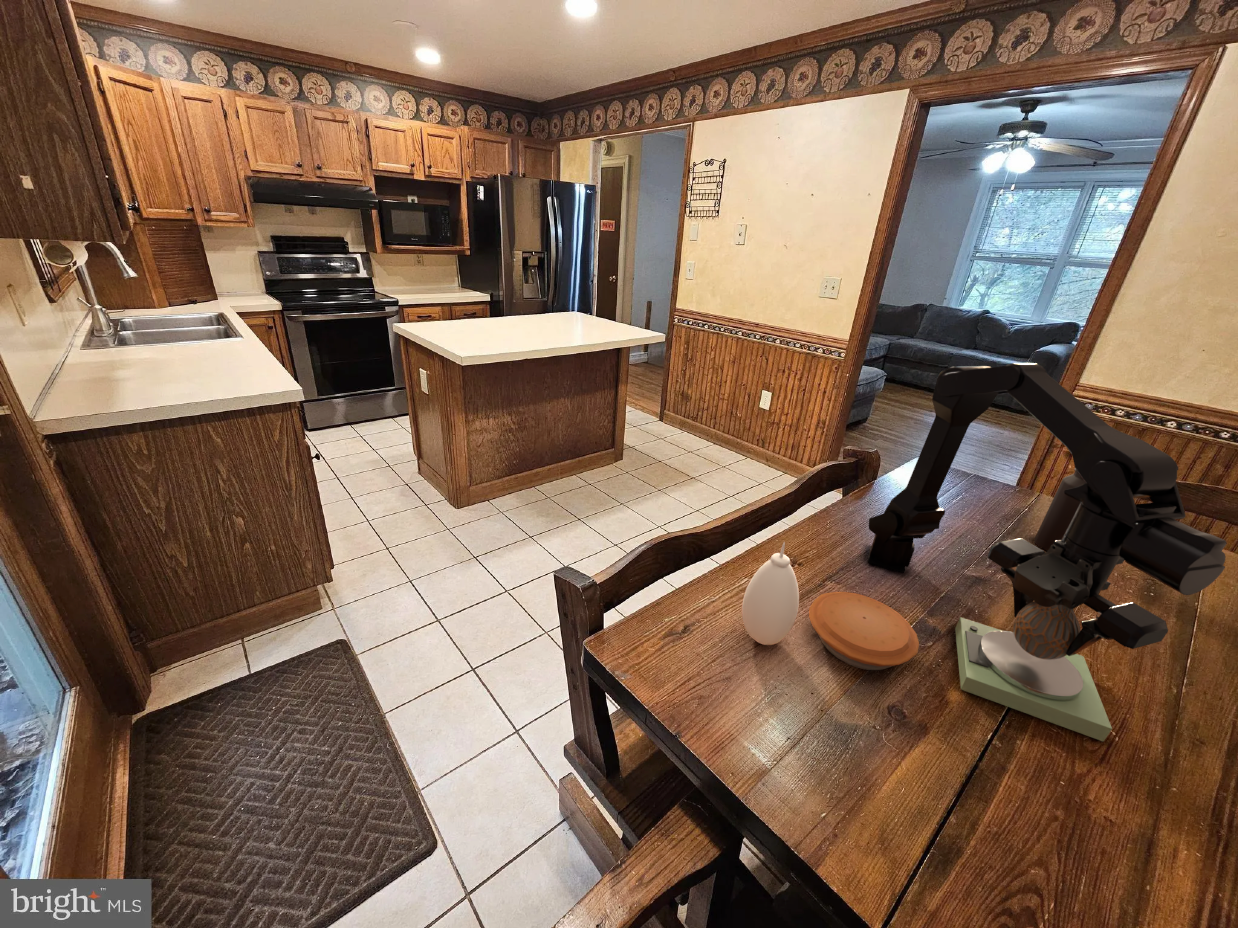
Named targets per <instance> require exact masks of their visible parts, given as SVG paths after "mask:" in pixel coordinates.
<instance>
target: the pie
mask: <svg viewBox="0 0 1238 928" xmlns="http://www.w3.org/2000/svg"><path fill="white" fill-rule="evenodd" d="M808 611H809V613H808V619H809V621H810V623H811V626H812V628H813V629H814V631H815V632H816V633H817V635H818V637H819V639H820V641H821V643H822V644H823V646H824V647H825V648H826V650H827V651H828V652H829V653H830V654H832V655H833V656H834V657H835V658H837V659H838V660H840V661H841V662H844V663H845V664H847V665H849V666H852V667H855V668H858V669H861V670H867V671H883V670H886V669H889V668H891V667H896V666H899V665H902V664H904V663H906V662H907V663H908V662H909V661H910V660H912V659H913V658H914V657H915V656H916V655H917V654H918V651H919V647H920V642H919V637H918V634H917V632H916V631H915V629H914V628H913V627H912V625H911V624H910V623H909V622H908V621H907V620H906V619H905V617H904V616H903V615H902V614H900V612H898V611H896V610H895V609H894V608H892V607H890V606H889V605H888V604H885V603H882V602H881V601H879V600H876V599H874V598H872V597H868V596H867V595H863V594H860V593H855V592H848V591H830V592H825V593H821V594H820V595H819V596H818V597H817V598H815V599H814V600H813V602H812V603H811V605H810V606H809V608H808Z"/></svg>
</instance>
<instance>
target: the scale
mask: <svg viewBox="0 0 1238 928" xmlns="http://www.w3.org/2000/svg"><path fill="white" fill-rule="evenodd" d="M954 630H955V631H954V632H955V642H956V651H957V662H958V672H959V674H958V675H959V684H960V690H961V691H963V692H966V693H970V694H973V695H975V696H978V697H980V698H983V699H985V700H988V701H991V702H994V703H997V704H999V705H1003V706H1005V707H1007V708H1010V709H1013V710H1016V711H1019V712H1021V713H1024V714H1027V715H1030V716H1032V717H1035V718H1038V719H1040V720H1043V721H1045V722H1048V723H1051V724H1054V725H1057V726H1059V727H1062V728H1064V729H1068V730H1070V731H1073V732H1075V733H1079V734H1081V735H1084V736H1087V737H1089V738H1092V739H1095V740H1097V741H1100V742H1104V741H1105V740H1106V739H1107V737H1108V736H1109V734H1111V732H1112V730H1113V727H1112V725H1111V722H1110V720H1109V717H1108V715H1107V712H1106V710H1105V706H1104V704H1103V702H1102V700H1101V697H1100V694H1099V691H1098V689H1097V687H1096V684H1095V681H1094V679H1093V676H1092V674H1091V671H1090V669H1089V666H1088V664H1087V661H1086V659H1085V657H1084V655H1081V654H1078V653H1077V654H1075V655H1072V656H1068V655H1066V656H1064V657H1065V658H1066V659H1068V660H1069V661H1070V662H1071V663H1072V664H1073V665H1074V666H1075V667H1076V669H1077V670H1078V671H1079V673H1080V675H1081V677H1082V679H1083V688H1082V690H1081V692H1080V693H1079V695H1078V696H1076V697H1075V698H1072V699H1068V700H1055V699H1049V698H1045V697H1041V696H1038V695H1035V694H1032V693H1030V692H1027V691H1025V690H1023V689H1021V688H1019V687H1017V686H1015V685H1013V684H1012V683H1010V682H1009V681H1007V680H1006V679H1004V678H1003V677H1001V676H1000V675H999V674H998V673H996V672H995V671H994V670H993V669H992V668H991V667H990V666H989V665H988V664H987V662H986V661H985V660H984V658H983V657H982V655H981V653H980V649H979V644H980V641H981V639H982V637H983V636H984V635H985V634H987V633H989V632H992V631H1003V629H1000V628H995V627H992V626H989V625H986V624H983V623H980V622H977V621H975V620H974V621H973V620H970V619H967V618H964V617H961V616H960V617H959V619H958V621H957V624H956V625H955V628H954Z"/></svg>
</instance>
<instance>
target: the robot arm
mask: <svg viewBox="0 0 1238 928" xmlns="http://www.w3.org/2000/svg"><path fill="white" fill-rule="evenodd" d="M933 389H934V390H933V393H932V398H931V401H932V405H933V409H934V414H935V417H934V419H933V421H932V424H931V427H930V429H929V431H928V434H927V435H926V436H927V437H926V438H925V440H924V443H923V446H922V448H921V451H920V454H919V455H918V458H917V460H916V463H915V465H914V467H913V471H912V473H911V475H910V477H909V480H908V483H907V485H906V486H905V488H903V489H902V490H901V491H900V492H899V493H897V494H896V495H895V496H894V497H893V498H892V499H891V500H890V502H889V503H888V505H887V507H886V508H885V510H884V512H883V513H881V514H878V515H875V516H873V517H869V518H868V530H869V531H870V532H871V533H873V534H874V537H873V540H872V543H871V545H870V546H869V549H868V556H867V563H868V564H869V565H873V566H877V567H879V568H884V569H886V570H891V571H893V572H896V573H899V574H905V573H906V568H908V567H909V566H910V563H911V561H912V558H913V555H914V552H915V542H914V539H924V538H925V536H926V535H929V534H932V533H933V532H934V531H935V530H939V529H940V523H941V520H942V519H943V517H944V516H945V515H946V510H945V509H943V508H942V507H940V503H939V500H938V496H939V493H940V491H941V488H942V487H943V484H944V482H945V480H946V477H947V475H948V473H949V471H950V469H951V467H952V464H953V462H954V460H955V458H956V455H957V453H958V451H959V449H960V447H961V444H962V443H963V440H964V438H965V436H966V434H967V431H968V429H969V427H970V425H971V424H972V423H973V422H975V421H976V420H977V419H978V418H979V417H980V416H981V415H983V414H984V413H985V412H986V411H987V410H988V409H989V408H990V407H991V405H992V404H993V402H994V401H995V399H996V398H997V397H998V395H1005V394H1008V395H1010V396H1011V397H1012V398H1013V399H1014V400H1015V401H1016V402H1017V403H1019V405H1020V406H1021V407H1023V408H1024V409H1025V410H1026V411H1027V412H1028V413H1029V414H1030V415H1032V416H1033V417H1034V419H1036V420H1037V421H1038V423H1040V424H1041V425H1042V426H1043V427H1044V428H1046V429H1047V430H1048V431H1049V432H1050V434H1052V436H1054V437H1055V438H1056V439H1057V440H1058V441H1060V442H1061V443H1062V445H1064V446H1065V447H1066V449H1067V450H1068V451H1069V452H1070V454H1071V455H1072V460H1073V465H1074V469H1076V470H1077V472H1078V473H1079V474H1080V476H1081V477H1082V478H1083V480H1084V481H1085V482H1086V483H1085V484H1083V485H1081V486H1079V487H1075V488H1071V489H1066V490H1064V494H1065V495H1067V496H1069V497H1071V498H1073V499H1075V500H1077V501H1079V502H1081V503H1080V505H1079V507H1078V509H1077V511H1076V513H1075V515H1074V517H1073V519H1072V521H1071V523H1070V524H1069V526H1068V528H1067V530H1066V532H1065V534H1064V536H1063V538H1062V540H1058V541H1054V543H1053V545H1051V546H1050V548H1049V550H1048V551H1046V550H1043V549H1042V548H1040V547H1039V546H1037V545H1034V544H1033V543H1031V542H1029V541H1027V540H1026V539H1024V538H1023V537H1021V538H1015V539H1009V540H1004V541H998V542H995V543H994V544H993V545H992V546H991V547H990V549H989V552H988V553H987V558H988V560H990V561H992V562H993V563H995V564H996V565H998V566H999V567H1000V571H1001V573H1003V574H1004V575H1005V576H1007V578H1008V579H1009V580H1010V582H1011V585H1012V591H1013V615H1014V616H1013V617H1014V619H1015V618H1016V616H1017V614H1018V613H1019V611H1020V610H1021V609H1022V608H1023V607H1025V606H1026V605H1027V604H1029V603H1031V602H1035V603H1037V604H1039V605H1041V606H1044V607H1051V606H1053V605H1055V604H1056V605H1064V606H1065V607H1067V608H1068V609H1073V610H1074V609H1076V608H1078V607H1079V606H1081V605H1085V606H1087V608H1089V609H1091V610H1093V611H1094V612H1096V615H1095V618H1091V619H1086V620H1081V628H1080V632H1079V634H1078V635H1077V636H1076V638H1075V639H1074V640H1073V642H1072V643H1071V645H1070V646H1069V648H1068V650H1067V652H1066V655H1068V656H1072V655H1075V654H1078V653H1080V652H1082V651H1083V650H1085V649H1087V648H1089V647H1090V646H1092V645H1094V644H1096V643H1097V642H1099V641H1101V640H1103V639H1104V640H1106V641H1107V640H1109V641H1110V640H1113V641H1115V642H1117V643H1118V644H1120V645H1121V646H1123V647H1125V648H1129V649H1132V650H1134V649H1138V648H1142V647H1146V646H1150V645H1153V644H1156V643H1161V642H1162V641H1163V639H1164V638H1165V636H1166V635H1167V634H1168V632H1169V629H1168V625H1167V621H1166V620H1165V619H1163V618H1161V617H1160V616H1158V615H1156V614H1154V613H1152V612H1151V611H1149V610H1148V609H1146V608H1144V607H1142V606H1140V605H1139V604H1137V603H1135V602H1129V603H1124V604H1120V605H1119V604H1118V605H1117V604H1115V603H1113V601H1111V600H1109V599H1107V598H1105V597H1104V596H1102V595H1101V594H1100V593H1101V592H1102V591H1107V590H1108V589H1109V587H1110V586H1111V584H1112V583H1111V582H1110V581H1108V579H1109V578H1110V576H1111V574H1112V572H1113V571H1114V570H1115V568H1116V566H1117V565H1121V564H1124V562H1125V563H1126V564H1127V565H1130V566H1131V567H1133V568H1135V569H1137V570H1139V571H1140V572H1142V573H1144V574H1146V575H1147V576H1149V577H1151V578H1153V579H1155V580H1156V581H1159V582H1160V583H1162V584H1164V585H1166V586H1167V587H1169V588H1170V589H1173V590H1174V591H1176V592H1178V593H1180V594H1181V595H1184V596H1191V595H1193V594H1197V593H1199V592H1201V591H1204V589H1206V588H1208V587H1209V586H1210V585H1212V584H1213V583H1214V582H1215V581H1216V580H1217V579H1218V578H1219V577H1220V575H1221V574H1222V573H1223V572H1224V570H1225V568H1226V566H1225V565H1224V564H1225V562H1226V557H1227V556H1226V553H1225V552H1224V551H1223V550H1224V548H1225V547H1226V545H1227V540H1225V539H1224V538H1221V537H1219V536H1216V535H1214V534H1211V533H1207V532H1204V531H1202V530H1201V531H1200V530H1199V529H1196V528H1194V527H1192V526H1190V525H1188V524H1186V523H1183V522H1181V521H1178V520H1182V519H1185V518H1186V516H1187V515H1186V512H1185V509H1184V504H1183V501H1182V498H1181V495H1180V490H1179V488H1178V487H1179V486H1178V483H1177V479H1178V471H1179V466H1178V464H1177V461H1175V460H1174V459H1173V457H1172V456H1171V455H1169V454H1167V452H1164V451H1162V450H1161V449H1159V448H1157V447H1156V446H1153V445H1152V444H1150V443H1149V442H1147V441H1145V440H1143V439H1141V438H1138V437H1136V436H1133V435H1130V434H1127V433H1124V432H1123V431H1120V430H1118V429H1117V428H1115V427H1112V426H1111V425H1109V424H1108V423H1107V422H1106V421H1104V420H1103V419H1102V418H1101V417H1100V416H1099V415H1097V414H1096V413H1095V412H1094V411H1092V410H1091V409H1090V408H1089V407H1088V406H1086V405H1085V404H1084V403H1083V402H1082V401H1080V400H1079V399H1078V398H1077V397H1076V396H1075V395H1073V394H1072V393H1071V392H1069V391H1068V390H1067V389H1066V388H1065V387H1063V386H1062V385H1061V384H1060V383H1059V382H1058V381H1056V380H1055V379H1054V378H1052V377H1051V376H1050V375H1049V374H1048V373H1047V370H1046V369H1045V368H1044V367H1043V366H1042V365H1040V364H1038V363H1034V362H1012V363H1009V364H1008V363H1007V364H1006V365H1000V366H994V367H991V366H987V365H978V366H977V365H971V366H970V365H969V366H967V365H965V366H955V365H954V366H950V367H948V368H946V369H944V370H942V371H941V372H940V373H939V375H938V377H937V379H936V382H935V386H934V388H933ZM1143 498H1149V499H1150V501H1151V502H1145V503H1135V499H1143Z"/></svg>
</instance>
